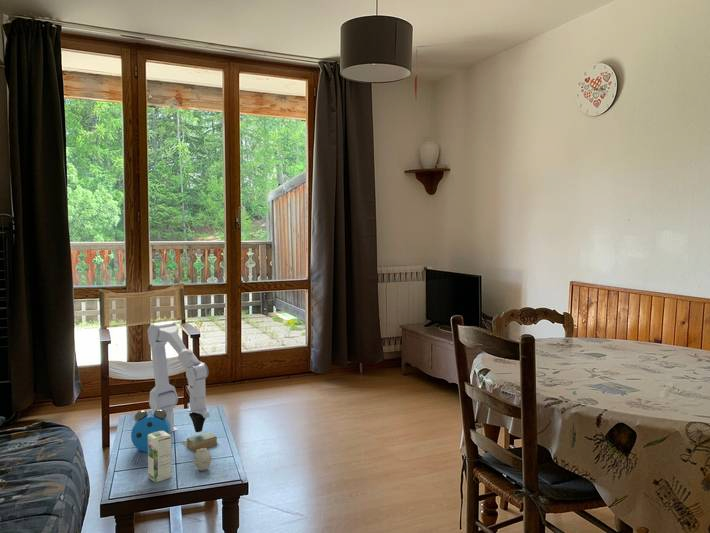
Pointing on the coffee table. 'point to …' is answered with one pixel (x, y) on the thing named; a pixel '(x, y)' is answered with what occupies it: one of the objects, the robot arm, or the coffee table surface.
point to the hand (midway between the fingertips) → (198, 431)
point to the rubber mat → (191, 449)
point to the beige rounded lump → (202, 459)
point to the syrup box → (159, 456)
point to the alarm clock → (148, 427)
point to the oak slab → (201, 441)
